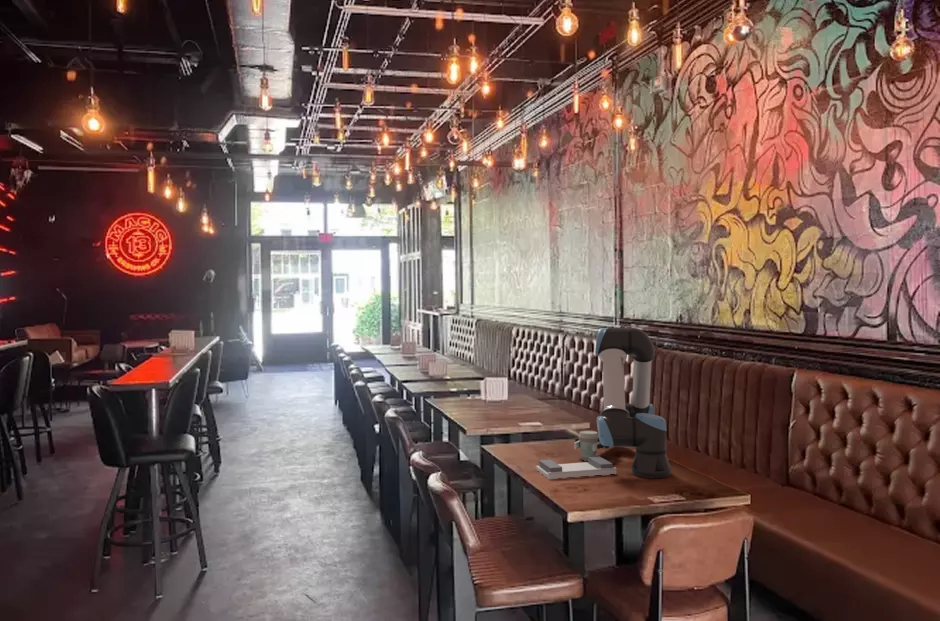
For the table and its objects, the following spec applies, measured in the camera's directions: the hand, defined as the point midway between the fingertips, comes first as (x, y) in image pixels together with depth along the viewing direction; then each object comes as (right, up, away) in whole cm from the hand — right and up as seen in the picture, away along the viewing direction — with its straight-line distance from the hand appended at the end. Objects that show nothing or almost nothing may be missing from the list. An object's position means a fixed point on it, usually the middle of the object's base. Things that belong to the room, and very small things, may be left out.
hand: (584, 446), depth 308 cm
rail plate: (-6, -7, -15) cm, 18 cm away
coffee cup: (+3, -7, +4) cm, 8 cm away
